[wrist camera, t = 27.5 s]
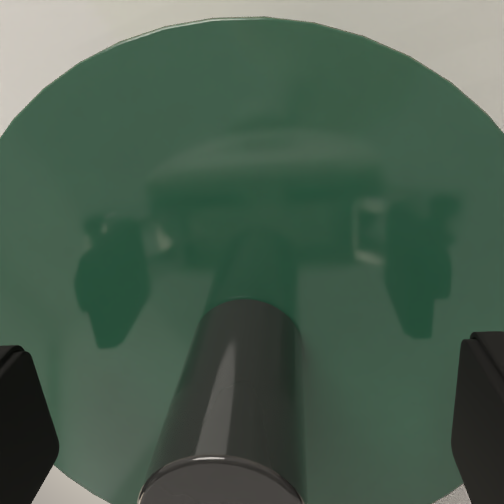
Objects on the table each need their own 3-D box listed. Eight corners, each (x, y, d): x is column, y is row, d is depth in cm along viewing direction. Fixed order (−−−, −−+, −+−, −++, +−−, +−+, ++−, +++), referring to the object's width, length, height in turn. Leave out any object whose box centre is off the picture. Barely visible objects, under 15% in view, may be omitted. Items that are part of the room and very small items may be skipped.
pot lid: (-100, 52, 11) (-506, 55, 5) (594, -17, 10) (1034, -112, 4) (58, 511, 17) (-58, 741, 11) (502, 515, 15) (625, 784, 10)
